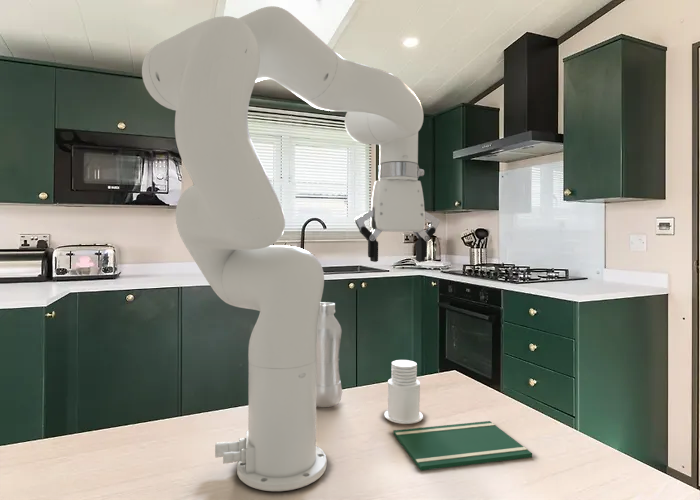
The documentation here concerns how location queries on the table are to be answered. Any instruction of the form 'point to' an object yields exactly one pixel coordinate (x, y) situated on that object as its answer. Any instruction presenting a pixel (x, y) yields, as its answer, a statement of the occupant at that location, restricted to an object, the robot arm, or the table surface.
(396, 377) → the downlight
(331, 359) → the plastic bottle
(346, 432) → the table surface
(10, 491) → the table surface
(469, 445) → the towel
